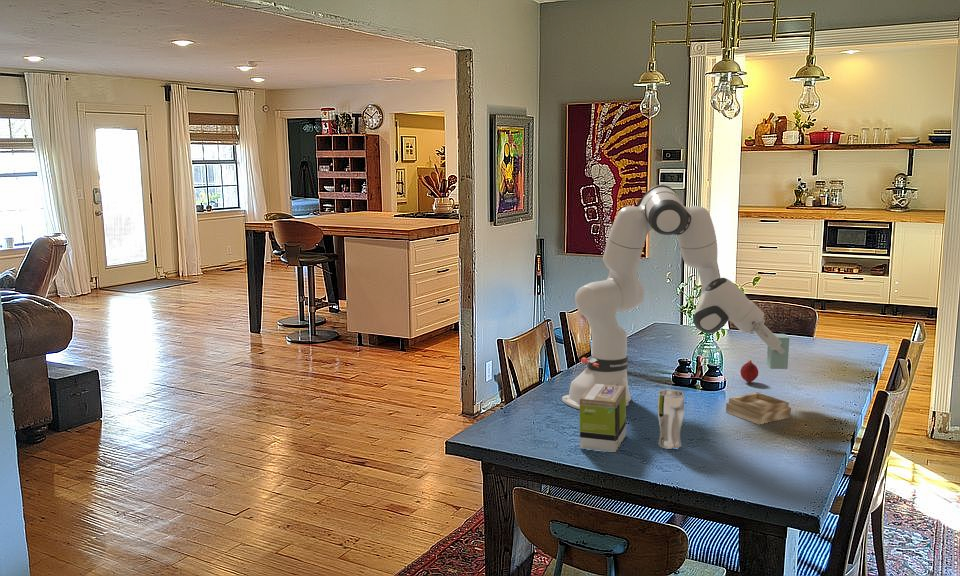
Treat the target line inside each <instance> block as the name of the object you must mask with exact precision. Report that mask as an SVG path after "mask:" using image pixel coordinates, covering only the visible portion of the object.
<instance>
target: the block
mask: <svg viewBox="0 0 960 576" xmlns="http://www.w3.org/2000/svg"><path fill="white" fill-rule="evenodd" d="M773 334H774V335H775V336H776V337H777V338H778V339H779V340H780V341H781V342H782V344H781V345H780V346H781V347H782V348H783V349H784V350H785V352H784V353H783V354H782V355H781V354H780V353H779V352H778V351H776V350H772V349H771V348H770V347H768V346H767V352H766V354H767V355H766V365H767V367H769V369H771V370H772V369H773V370H788V369H789V366H788V365H789V364H788V363H789V349H790V337H789V336H788V335H787V334H785V333H773Z"/></svg>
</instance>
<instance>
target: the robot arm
mask: <svg viewBox="0 0 960 576" xmlns="http://www.w3.org/2000/svg"><path fill="white" fill-rule="evenodd" d="M636 203H637V204H636V205H637V206H635V205H628V206H624V207H622V208H621V209H619V211H618V212H617V214H616V216H615V219H614V221H613V222H612V226H611V229H610V231H609V234H608V238H607V241H606V244H605V248H604V249H605V250H604V252H603V255H602V256H603V257H602V262H603V263H604V265H605V267H606V268H607V269H608V270H609V271H608V276H607V278H606V279H603V280H599V281H598V280H597V281H591V282H589V283H587V284H585V285H582V286H581V287H579V288H577V290H576V292H575V297H574V303H575V307H576V309H577V311H578V312H579V313H580V315H582V316H583V317H584V318H585V319H586V321H587V323H588V325H589V329H590V333H591V334H590V335H591V355H590V357H589V358H587V357H582V358H581V359H580V363H581V364H584V365H587V366H586V368H585V369H584V370H583V371H582V372H581V373H580V374H579V375H577V376H576V377H575V378H574V379H573V380H572V381H571V383H570V385H569V386H570V387H569V392H568V393H569V394H565V395H563V396H562V397H561V401H562V403H565V405H567V406H569V407H572V408H574V409H577V410H580V398H581V397H582V396H583V395H584V393H585V392H586V391H587V390H588V388H589V387H590V386H591V385H592V384H593V383H594V384H605V385H618V386H626V407H628V406H629V404H630V403H629V402H631V400H632V397H631V394H630V393H631V392H630V389H629V382H628V371H627V370H628V368H629V357H628V355H627V353H628V351H627V350H628V349H627V348H628V347H627V346H628V344H627V343H628V334H627V332H626V330H625V329H624V328H623V327H621V326H619V324H618V323H619V322H618V320H617V314H618V313H619V314H620V313H624V312H628V311H632V310H634V309H635V308H637V307H639V306H640V305H642V303H643V301H644V299H645V289H644V287H643V285H642V283H641V282H640V281H639V277H638V269H639V265H640V260H641V256H642V253H643V249H644V247H645V243H646V238H647V237H648V234H649V233H650V231H651V230H654V231H655V232H656V233H658V234H660V235H665V236H672V235H675V236H676V235H677V237H678V245H679V250H680V255H681V257H682V260H683V263H684V264H685V265H686V266H688V267H689V268H692V269H696V270H698V271H697V272H698V276H699V281H700V285H701V291H700V293H699V297H698V302H697V305H696V307H695V310H694V313H693V318H692V321H693V325H694V326H695V328H696V329H698V330H699V331H700V332H701V333H702V332H703V333H704V334H715V333H717V332H719V331H720V330H721V329H722V328H723V327H724V326H726V324H727V322H731V323H733V325H735V327H736V328H737V329H738V331H741V333H744V334H745V333H748V334H749V335H751V334H754V335H755V336H756V337H758V338H759V339H760V340H761V341H762V342H763V343H764V344H765V345H766V346H767V348H768V347H770V348H771V349H772V350H776V351H778V352H779V353H780V354H781V355H782V354H783V353H784V352H785V350H784V349H783V348H782V347H781V346H780V345H781V344H782V342H781V341H780V340H779V339H778V338H777V337H776V336H775V335H774V334H775V333H774V332H773V331H771V330H770V328H768V327H767V326H766V325H765V322H766V320H765V318H764V317H765V313H764V311H763V310H761V308H760V307H759V306H757V304H756V303H754V301H751V300H750V299H749V298H748V297H747V296H746V294H745V292H743V290H741V288H740V287H738V286H737V285H736V284H735V283H734V282H733V281H731V280H730V279H728V278H726V277H721V274H720V269H719V264H718V243H717V241H718V240H717V236H716V235H717V234H716V231H715V226H714V223H713V220H712V217H711V215H710V212H709V210H708V209H707V208H706V207H703V206H700V205H691V206H685V205H684V204H683V202H682V199H681V198H680V197H679V195H678V194H677V192H676V191H675V189H673V188H672V187H670V186H668V185H665V184H657V185H654V186H652V187H651V188H649V189H648V190H647V191H646V193H645V194H643V196H642V197H641V198H640V199H639V200H638V202H636Z"/></svg>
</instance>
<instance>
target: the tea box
mask: <svg viewBox="0 0 960 576" xmlns="http://www.w3.org/2000/svg"><path fill="white" fill-rule="evenodd" d="M626 436H627V406H626V386H618V385H605V384H594V383H593V384H592V385H591V386H590V387H589V388H588V390H587V391H586V392H585V393H584V395H583V396H582V397H581V398H580V409H579V449H580V448H586V449H594V450H602V451H610V452H616V453H617V451H618V449H619V448H620V446H621V445H622V443H623V441H624V439H625V437H626ZM621 442H622V443H621ZM618 447H619V448H618ZM616 450H617V451H616Z"/></svg>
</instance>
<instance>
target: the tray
mask: <svg viewBox="0 0 960 576" xmlns="http://www.w3.org/2000/svg"><path fill="white" fill-rule="evenodd" d="M725 405H726V406H725V413H727V414H730V415H732V416H734V417H737V418H740V419H742V418H743V419H742V420H745V419H746V420H745V421H747V420H748V422H750V421H751V423H753V424H755V423H756V424H755V425H759V426H760V424H761V425H764V423H765V424H768V422H769V423H772V421H773V422H777V420H778V421H782V420H785V418H786V419H789V418H791V416H792V415H791V413H792V407H789V405H790V404H789V402H788V401H784V400H781V399H779V398H775V397H773V396H770V395H768V394H767V395H766V394H764V393H762V392H753V393H746V394H743V395H739V396H733V397H730V398H728V402H726V403H725ZM781 419H782V420H781Z"/></svg>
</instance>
